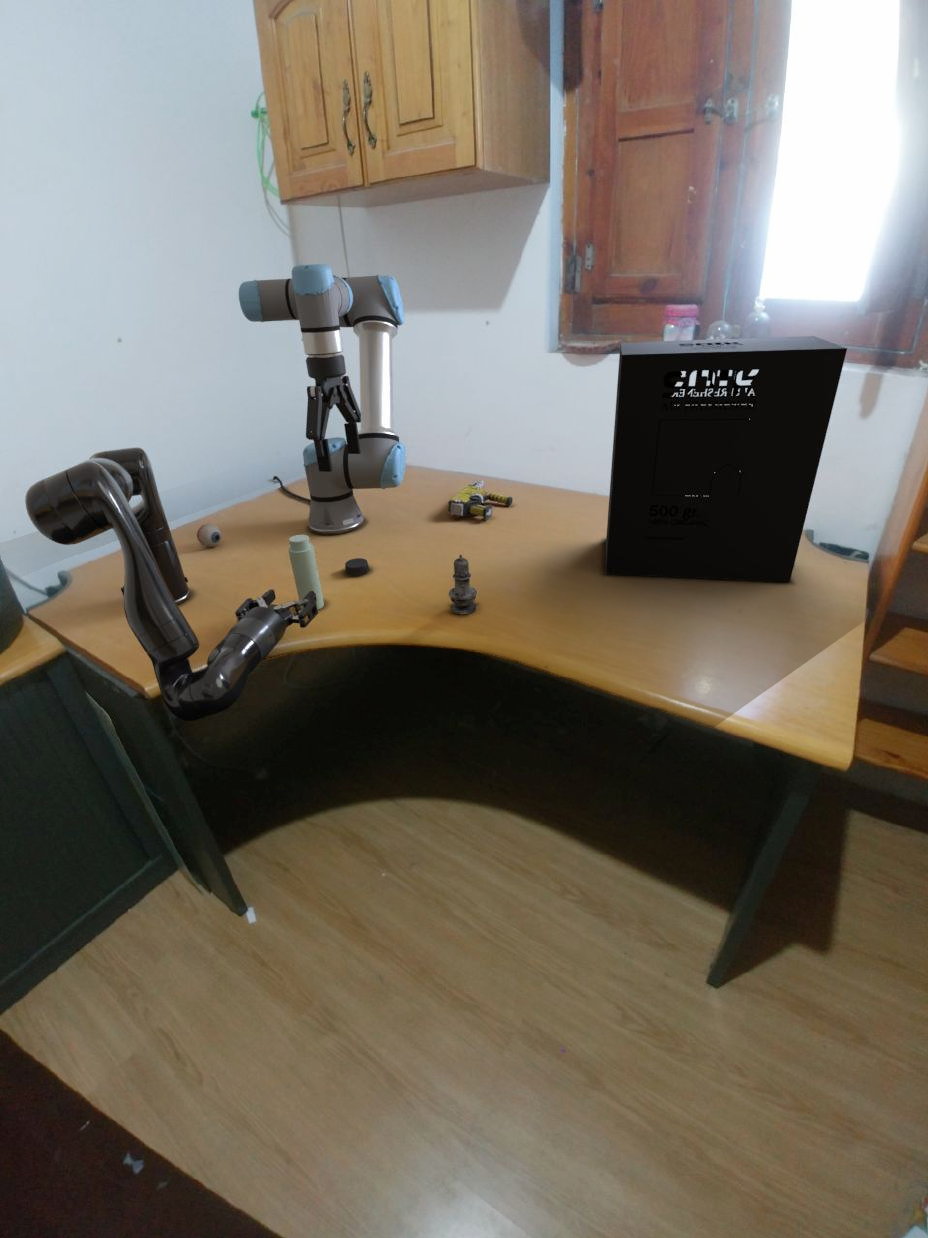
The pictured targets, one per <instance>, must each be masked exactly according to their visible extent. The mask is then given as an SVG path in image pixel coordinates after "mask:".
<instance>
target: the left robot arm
mask: <svg viewBox="0 0 928 1238" xmlns="http://www.w3.org/2000/svg"><path fill="white" fill-rule="evenodd" d="M134 496H140V497H141V500H140V501H139V502H138V503H137V504H135V506H133V507H131V505H130V501H131V499H132V498H133V497H134ZM24 503H25V509H26V513H27V516H28V518H29V520H30V521H31V523H32V525H33V526H34V527H35V529H37V531H38V532H39V533H40V534H42V535H43V536H44V537H45V538H47V539H49V540H50V541H52V542H54V543H57V544H60V545H65V546H70V545H76V544H80V543H82V542H85V541H88V540H90V539H91V538H94V537H96V536H99V535H100V534H104V533H105V532H107V531H109V530H113V531H114V534H115V535H116V537H117V540H118V542H119V545H120V548H121V551H122V557H123V565H124V566H123V569H124V579H123V581H124V584H123V586H122V587H120V591H121V594H122V596H123V610H124V616H125V619H126V621H127V624H128V626H129V628H130V631H131V632H132V633H133V635H134V637H135V638H136V640H137V641H138V643H139V645H140V646H141V648H142V649H143V650H144V652H145V653H146V655H147V656H148V658H149V659H150V661H151V664H152V667H153V668H152V669H153V672H154V676H155V679H156V681H157V685H158V687H159V691H160V694H161V697H162V700H163V702H164V704H165V706H166V707H167V709H168V710H169V711H170V713H172V714H173V716H175V717H176V718H178V719H180V720H182V721H184V722H195V721H198V720H200V719H204V718H206V717H209V716H212V715H216V714H218V713H222V712H224V711H226V710H228V709H229V708H230V707H232V705H234V704H235V703H236V702H237V701H238V700H239V699H240V696H241V695H242V693H243V691H244V688H245V685H246V683H247V680H248V677H249V676H250V674H251V673H253V671H254V670H255V668H256V667H257V666H258V665H259V664H260V663H262V661H264V660H265V659H266V658H267V656H268V655H270V653H271V652H272V650H274V648H275V647H276V646H277V645H278V643H279V642H280V641H281V640H282V639H283V637H284V635H285V633H286V630H287V629H288V627H290V626H291V625H293V624H297V625H298V624H299V627H300V628H301V629H304V628H306V627H308V625H309V624H310V623H311V622H312V621H313V620H315V618H316V617H317V615H319V610H318V609H317V604H316V601H317V598H316V594H315V593H314V591H310V592H309V593H308V594H307V595H306V596H305V597H304V598H303V600H301V601H299V600H298V601H296V600H292V601H289V602H287V603H284V604H275V603H274V601H275V600H276V597H277V595H276V593H275V592H276V591H275V590H274V589H273V588H272V589H271V588H270V589H268V591H265V592H264V593H263V594H262V595H261V596H258V597H256V598H255V599H253V598H252V597H249V598H246V599H245V600H244V601H243V602H242V603H241V605H240V606H239V607H238V608H237V609H236V610H235V611H234V614H235V618H236V621H237V622H236V623H235V624H234V625H233V626H232V628H231V629H230V630H229V631H228V632H227V633H226V635H225V637H223V639H222V640H221V641H220V642H219V643H218V644H217V645H216V646H215V647H214V648H213V649H212V650H211V651H210V653H209V655H208V656H207V660H206V661H207V662H206V666H205V667H203V668H200V669H199V670H196V671H193V669H192V666H191V662H190V658H191V657H192V656H193V655H194V654H196V652H197V651H198V650H199V648H200V641H199V639H198V636H197V634H196V633H195V631H194V630H193V629H192V627H191V625H190V623H189V622H188V620H187V618H186V617H185V615H184V613H183V612H182V610H181V608H180V607H179V605H180V604H182V603H184V602H186V601H187V600H188V599H189V598H190V597H191V591H190V588H189V586H188V583H189V580H188V578H187V577H186V575H185V573H184V570H183V566H182V563H181V560H180V557H179V553H178V550H177V548H176V544H175V542H174V538H173V535H172V532H171V529H170V526H169V523H168V519H167V517H166V513H165V510H164V506H163V504H162V500H161V497H160V494H159V490H158V486H157V482H156V478H155V474H154V470H153V467H152V462H151V460H150V458H149V456H148V454H147V452H146V451H145V450H144V449H143V448H141V447H139V446H136V447H125V448H118V449H111V450H102V451H99V452H96V453H93V454H92V455H90V457H89V459H86V460H84V461H81V462H79V463H77V464H75V465H74V466H71V467H68V468H67V469H64V470H61V471H60V472H57V473H55V474H52V475H50V476H48V477H45V478H42V479H40V480H38V481H36V482H35V483H34V484H32V485H30V487H29V488H28V489H27V490H26V493H25V498H24ZM302 605H303V608H304V609H303V610H302V609H301V610H300V608H301V607H300V606H302ZM291 608H292V610H291ZM292 611H293V613H292Z"/></svg>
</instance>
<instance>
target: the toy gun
mask: <svg viewBox="0 0 928 1238" xmlns="http://www.w3.org/2000/svg"><path fill="white" fill-rule="evenodd" d="M485 485H486V483H485V480H480V481H479V479H475V480H474V481H472V483H470V484H467V486H465V487H464V488H463V489H462V490H461V491H459V492H458V493H456V494H455V495H454V496H453V497H452V498H451V499H450V500H448V502H447V513H448V514H449V515H451V516H452V517H456V518H458V517H467V516H472V515H473V516H479V517H482V520H484V521H486V520H487V519H489V518H491V517H492V516H493V515H492V514H493V505H492V504H488V505H486V503H485V502H486V501H488V500H489V501H490V502H494V503H496V502H497V503H499V504H504V505H507V506H508V507H509V506H512V505H513V502H514V501H513V500H514V498H513V497H512V496H508V495H507V496H506V495H502V494H498V493H494V492H490V493H489V494H487V492H486V490H485V488H483V487H484V486H485Z"/></svg>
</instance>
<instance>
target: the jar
mask: <svg viewBox="0 0 928 1238" xmlns="http://www.w3.org/2000/svg"><path fill="white" fill-rule="evenodd" d="M288 543H289V547H288V548H287V549H288V555H289V560H290V564H291V569H292V575H293V578H294V583H295V588H296V592H297V596H298V601H301V600H303V598H304V597H305V596H306V595H307V594H308V593H309V592H310V591H314V593H315V594H316V598H317V601H316V604H317V609H318V611H319V610H321V609H323V607H324V605H325V602H324V597H323V591H322V586H321V581H320V575H319V571H318V567H317V560H316V555H315V554H316V553H315V550H314V545H313V544H312V543H311V542H310V538H309V536H308V535H307V534H296V535H293V536H291V537H290V538H289V539H288ZM299 608H300V609H301V610H303V609H304V608H303V605H302V606H300V607H299Z"/></svg>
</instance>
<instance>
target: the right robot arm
mask: <svg viewBox="0 0 928 1238" xmlns="http://www.w3.org/2000/svg"><path fill="white" fill-rule="evenodd" d="M402 300H403V299H402V295H401V291H400V287H399V284H398V282H397V280H396V278H395V277H394V276H392V275H387V274H386V275H380V274H376V275H365V276H350V277H349V276H348V277H339V276H337V275H334V274H333V270H332V267H331V266H330V265H329V264H328V263H316V264H315V263H314V264H299V265H294V266H293V267H292V269H291V278H280V279H278V278H277V279H275V278H274V279H260V280H259V279H258V280H257V279H254V280H249V281H248V280H247V281H243V282H242V283H241V284H240V285H239V288H238V301H239V305H240V309H241V312H242V314H243V315H244V317H245V318H246V320H248V321H249V322H251V323H252V322H253V323H257V322H260V323H265V322H267V323H268V322H283V321H298V322H299V328H300V333H301V341H302V344H303V351H304V354H305V355H306V356H307V357H306V359H305V365H306V369H307V375H308V377H309V378H310V379H313V380H314V381H315V384H314V385H307V386H306V395H307V408H306V425H305V426H306V427H305V438H306V439H308V440H309V441H313V442H312V443H309V444H308V445H307V446H305V447H304V448H303V450H302V457H303V459H302V460H303V467H304V471H305V477H306V481H307V486H308V492H309V498H310V499H309V498H307V497H303V496H301V495H298V494H296V493H294V492H291V491H289V490H288V489H287V488H285V486H284V485H283V481H282V480H281V479H280V478H279V476H277V475H274V476H273V478H272V480H277V482H278V483H279V485H280V488H281V490H283V491H284V492H285V493H286V494H288V495H290V496H292V497H294V498H296V499H299V500H302V501H305V502H306V503H310V507H309V513H308V528H309V529H308V530H310V531H311V532H312V533H314V534H317V535H323V536H324V535H325V536H327V535H329V536H331V535H339V534H340V535H341V534H345V533H350V532H353V531H355V530H357V529H359V528H361V527H362V526H363V525H364V523H365V519H364V514H363V512H362V510H361V508H360V505H359V504H358V501H357V500H356V498H355V495H354V490H368V489H382V490H385V489H392V488H394V489H395V488H398V487H400V485H401V484H402V482H403V480H404V477H405V473H406V466H407V451H406V450H407V449H406V445H405V444H404V442H401V441H400V436H399V434H397V433H396V432H395V430H394V385H393V384H394V383H393V381H394V379H393V377H394V376H393V375H394V374H393V339H394V338H395V337H397V335H398V332H399V331H398V330H399V329H398V328H399V327H400V326H403V325H404V324H405V312H404V305H403V301H402ZM398 326H399V327H398ZM341 328H352V331H353V333H354V335H355V336H357V338H358V347H359V348H358V352H359V353H358V355H359V357H358V359H359V405H358V402H357V400H356V396H355V394H354V392H353V389H352V386H351V381H350V376H349V375H346V373H347V367H346V361H345V356H344V355H343V354H342V353H343V351H344V346H343V337H342V333H341ZM334 406H336V409H338V411H339V413H340V414H341V416H342V418H343V419H344V421H345V422H346V423H344V424H343V426H344V433H345V438H344V437H329V438H326V433H327V428H328V423H329V417H330V412H331V410H333V408H334ZM359 407H360V408H359ZM358 423H359V424H360V430H359V429H358Z"/></svg>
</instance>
